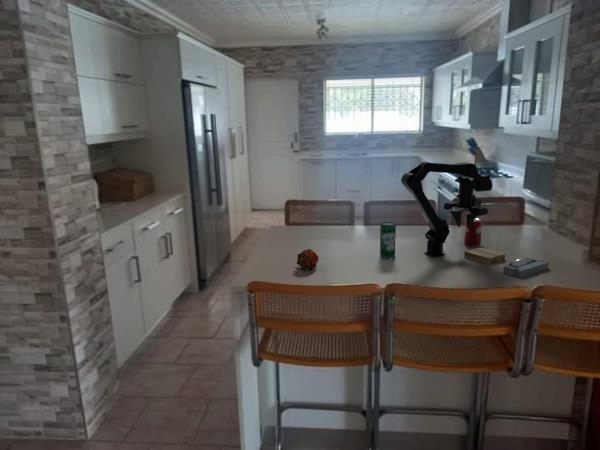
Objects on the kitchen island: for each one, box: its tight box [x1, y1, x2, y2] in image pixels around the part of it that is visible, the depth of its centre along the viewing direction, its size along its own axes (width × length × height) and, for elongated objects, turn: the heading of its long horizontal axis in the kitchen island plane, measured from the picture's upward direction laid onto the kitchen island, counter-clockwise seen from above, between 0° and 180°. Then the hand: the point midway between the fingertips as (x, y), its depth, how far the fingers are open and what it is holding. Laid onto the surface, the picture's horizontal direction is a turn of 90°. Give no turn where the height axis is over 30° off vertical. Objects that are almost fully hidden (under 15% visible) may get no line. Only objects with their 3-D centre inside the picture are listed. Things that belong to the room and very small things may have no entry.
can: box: [379, 221, 397, 260], centre depth 190 cm, size 6×6×15 cm
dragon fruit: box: [296, 248, 319, 270], centre depth 181 cm, size 8×8×12 cm
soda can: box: [463, 217, 483, 248], centre depth 205 cm, size 7×7×12 cm
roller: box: [508, 256, 532, 268], centre depth 173 cm, size 9×4×4 cm, turn 121°
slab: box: [463, 246, 506, 265], centre depth 187 cm, size 10×12×3 cm
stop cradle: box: [502, 257, 550, 279], centre depth 171 cm, size 18×7×2 cm, turn 122°
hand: (463, 227), depth 193 cm, fingers open, 5 cm apart
